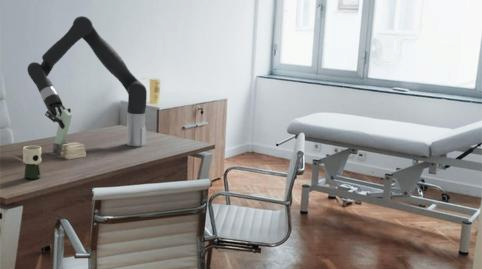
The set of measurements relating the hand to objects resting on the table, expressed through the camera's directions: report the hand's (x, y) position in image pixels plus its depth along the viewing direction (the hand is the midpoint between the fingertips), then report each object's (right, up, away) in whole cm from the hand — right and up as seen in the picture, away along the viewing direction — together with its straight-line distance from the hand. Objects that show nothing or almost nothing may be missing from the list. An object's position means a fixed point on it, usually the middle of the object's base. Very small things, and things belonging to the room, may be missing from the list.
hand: (65, 127), depth 277 cm
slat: (-5, -8, +5) cm, 11 cm away
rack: (0, -14, +2) cm, 14 cm away
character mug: (-3, -21, -34) cm, 41 cm away
